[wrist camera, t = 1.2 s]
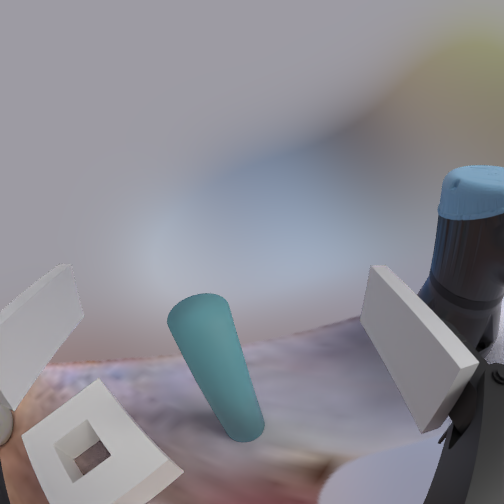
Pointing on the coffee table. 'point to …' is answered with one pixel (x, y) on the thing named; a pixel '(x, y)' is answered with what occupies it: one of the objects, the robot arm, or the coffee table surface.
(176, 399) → the coffee table surface
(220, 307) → the peg
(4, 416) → the teacup
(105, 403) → the socket block
